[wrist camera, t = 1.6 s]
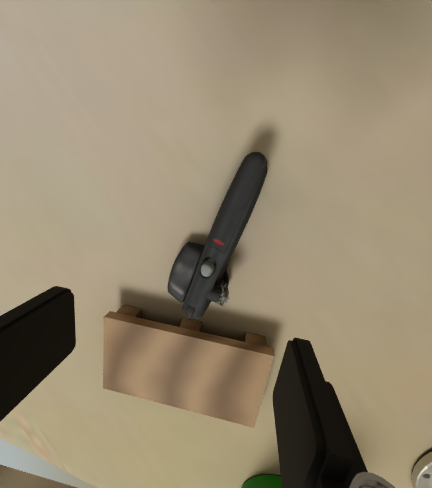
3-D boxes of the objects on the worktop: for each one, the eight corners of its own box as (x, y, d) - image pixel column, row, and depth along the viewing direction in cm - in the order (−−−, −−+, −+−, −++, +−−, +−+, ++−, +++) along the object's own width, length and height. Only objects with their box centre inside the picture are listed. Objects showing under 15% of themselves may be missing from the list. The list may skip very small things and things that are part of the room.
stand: (271, 338, 28) (274, 356, 25) (253, 404, 31) (254, 427, 28) (118, 303, 29) (103, 316, 27) (115, 369, 33) (103, 388, 30)
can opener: (216, 309, 28) (209, 340, 22) (166, 283, 28) (146, 308, 23) (293, 173, 22) (307, 171, 17) (231, 142, 23) (225, 130, 17)
